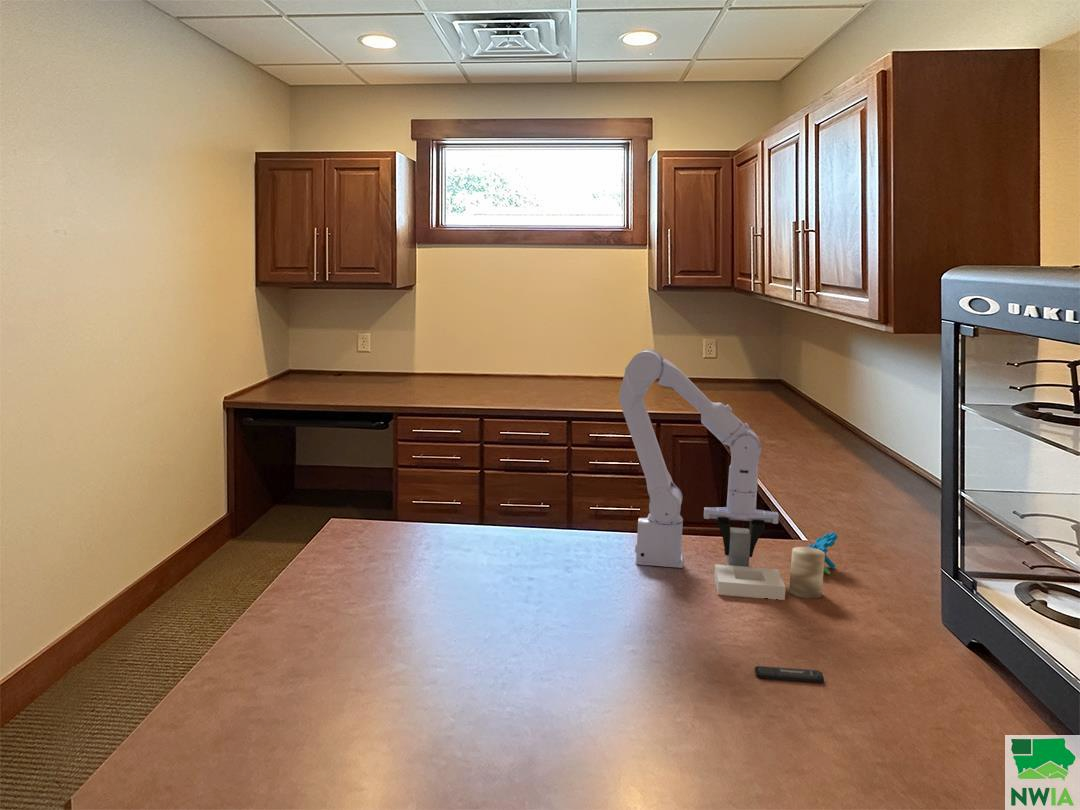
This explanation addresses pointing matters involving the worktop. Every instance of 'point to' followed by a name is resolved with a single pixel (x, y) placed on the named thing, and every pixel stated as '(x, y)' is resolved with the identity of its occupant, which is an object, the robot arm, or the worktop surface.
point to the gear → (823, 544)
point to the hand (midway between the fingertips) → (738, 554)
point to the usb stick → (789, 674)
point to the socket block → (749, 582)
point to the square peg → (739, 547)
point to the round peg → (807, 572)
